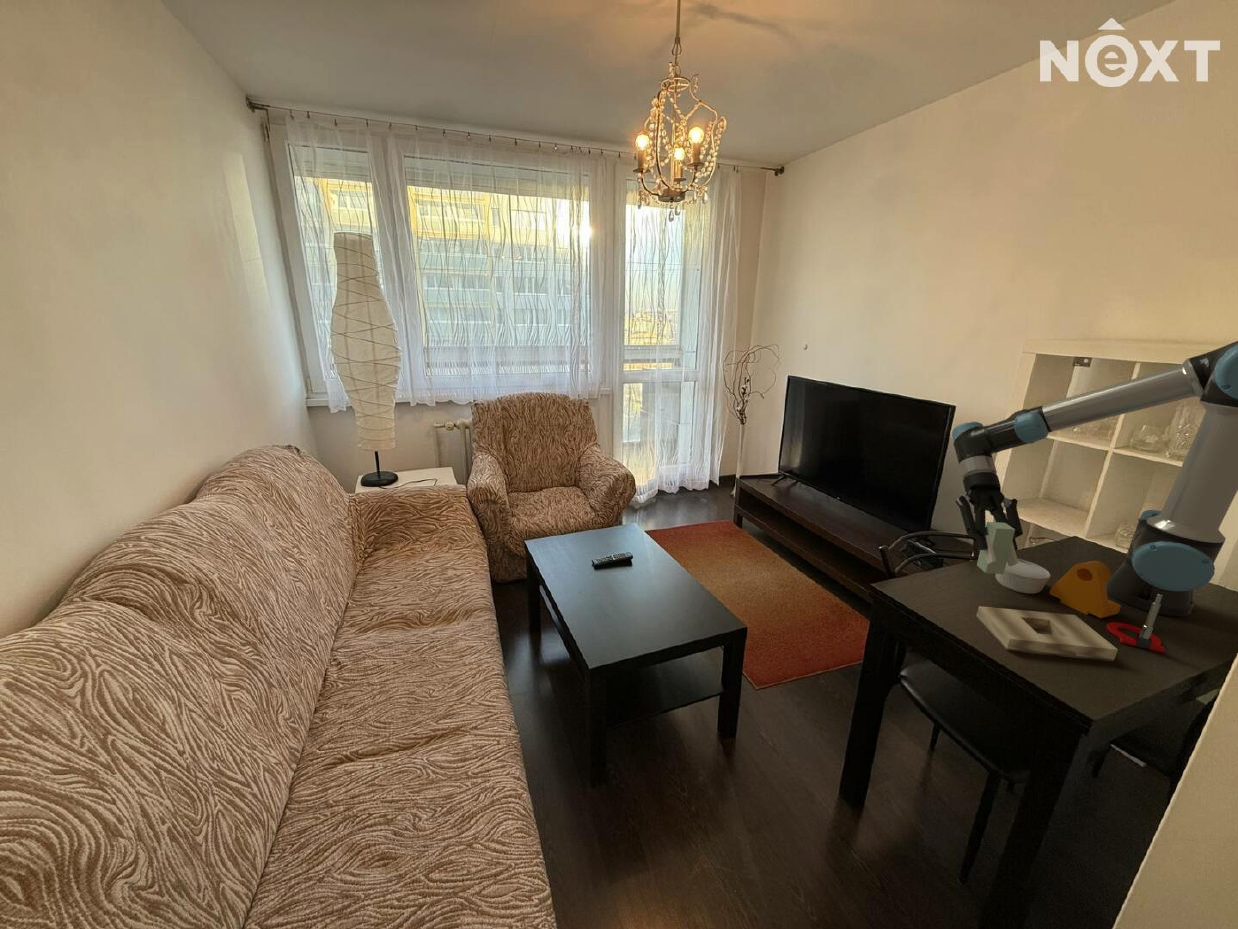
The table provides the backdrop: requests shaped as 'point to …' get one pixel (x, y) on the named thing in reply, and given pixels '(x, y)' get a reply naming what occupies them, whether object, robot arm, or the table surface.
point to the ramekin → (1024, 577)
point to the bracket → (1086, 589)
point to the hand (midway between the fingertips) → (1002, 563)
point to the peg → (997, 547)
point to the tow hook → (1141, 630)
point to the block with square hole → (1045, 634)
